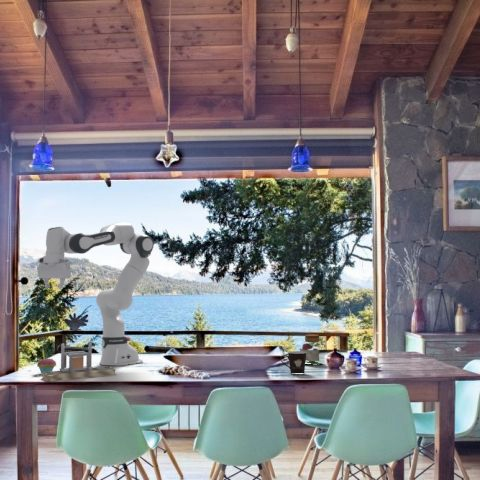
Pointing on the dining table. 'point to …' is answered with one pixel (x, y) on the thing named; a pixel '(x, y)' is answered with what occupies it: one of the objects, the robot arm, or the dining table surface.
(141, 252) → the robot arm
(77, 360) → the sled
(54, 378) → the board
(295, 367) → the coffee mug
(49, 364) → the cupcake
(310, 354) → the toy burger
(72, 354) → the tunnel
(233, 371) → the dining table surface
